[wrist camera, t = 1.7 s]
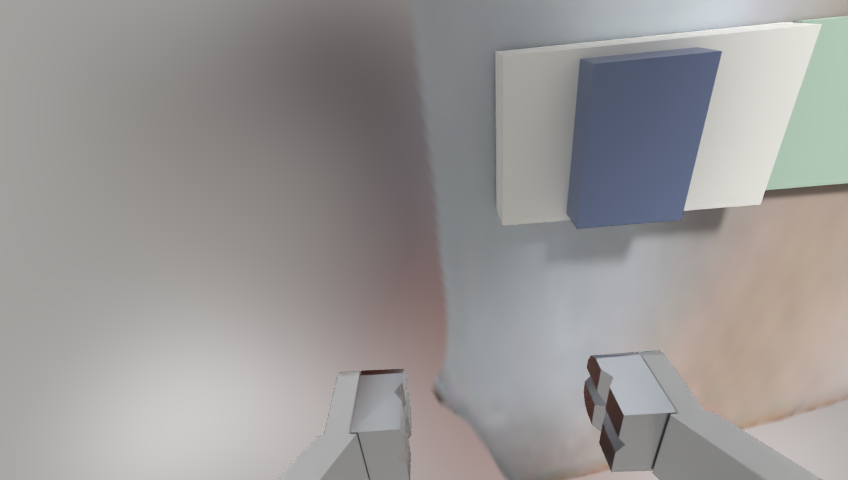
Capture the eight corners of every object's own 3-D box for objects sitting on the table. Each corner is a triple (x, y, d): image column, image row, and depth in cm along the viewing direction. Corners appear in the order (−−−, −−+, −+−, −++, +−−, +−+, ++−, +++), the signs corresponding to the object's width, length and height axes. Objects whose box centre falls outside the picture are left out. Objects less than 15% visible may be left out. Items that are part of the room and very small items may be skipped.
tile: (579, 59, 22) (593, 63, 20) (697, 47, 21) (722, 51, 20) (566, 213, 26) (576, 228, 24) (663, 205, 26) (681, 220, 24)
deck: (495, 51, 24) (503, 56, 22) (784, 22, 23) (821, 24, 21) (496, 209, 29) (502, 226, 26) (734, 188, 28) (760, 204, 26)
